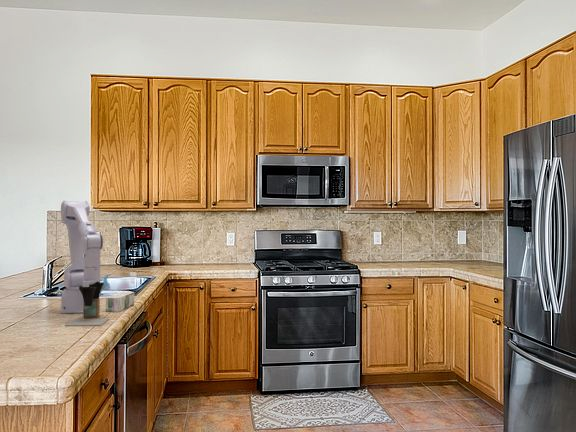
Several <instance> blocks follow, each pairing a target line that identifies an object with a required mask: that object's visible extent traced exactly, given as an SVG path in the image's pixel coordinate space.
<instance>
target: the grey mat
mask: <svg viewBox="0 0 576 432" xmlns="http://www.w3.org/2000/svg"><path fill="white" fill-rule="evenodd" d="M109 320H110V318H98V319H83V318H74V319H73V320H70V321H69V322H67V323H66V324H64V327H96V326H97V327H99V326H101V327H102V326H103V325H104V324H105V323H107V322H108V321H109Z"/></svg>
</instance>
